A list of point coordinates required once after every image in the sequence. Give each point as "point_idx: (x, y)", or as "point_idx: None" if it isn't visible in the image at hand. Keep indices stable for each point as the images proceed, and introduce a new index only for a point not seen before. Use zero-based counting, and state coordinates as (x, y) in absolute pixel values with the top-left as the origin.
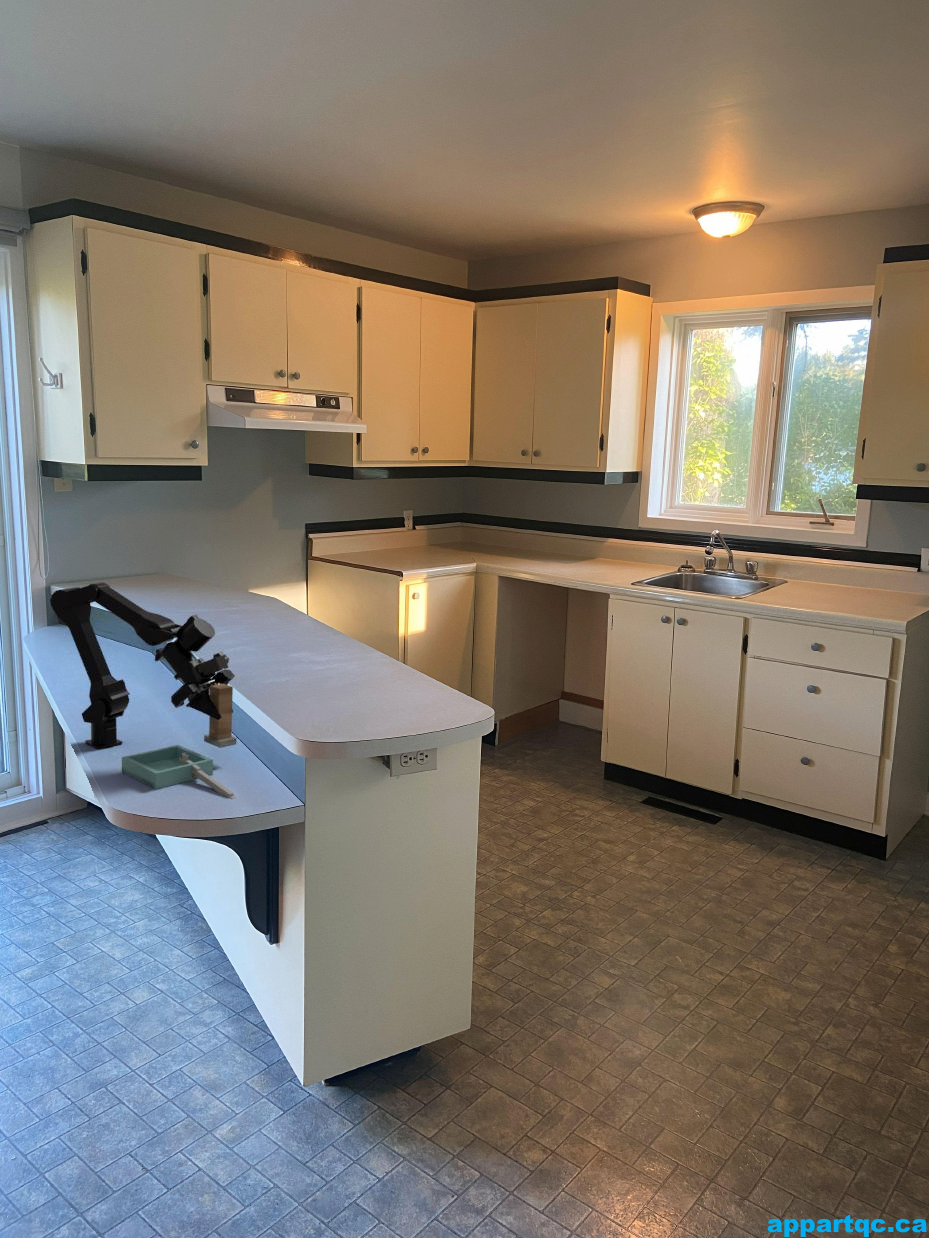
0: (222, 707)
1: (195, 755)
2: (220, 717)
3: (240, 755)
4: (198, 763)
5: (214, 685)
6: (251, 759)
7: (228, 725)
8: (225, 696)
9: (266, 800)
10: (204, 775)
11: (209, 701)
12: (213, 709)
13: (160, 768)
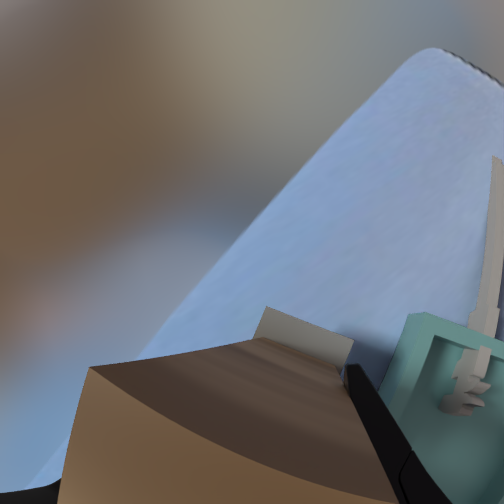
0: (318, 391)
1: (405, 404)
2: (359, 365)
3: (196, 344)
4: (475, 331)
5: None
6: (215, 290)
7: (272, 348)
8: (273, 407)
9: (458, 95)
10: (499, 271)
11: (419, 491)
12: (396, 427)
13: (455, 457)
